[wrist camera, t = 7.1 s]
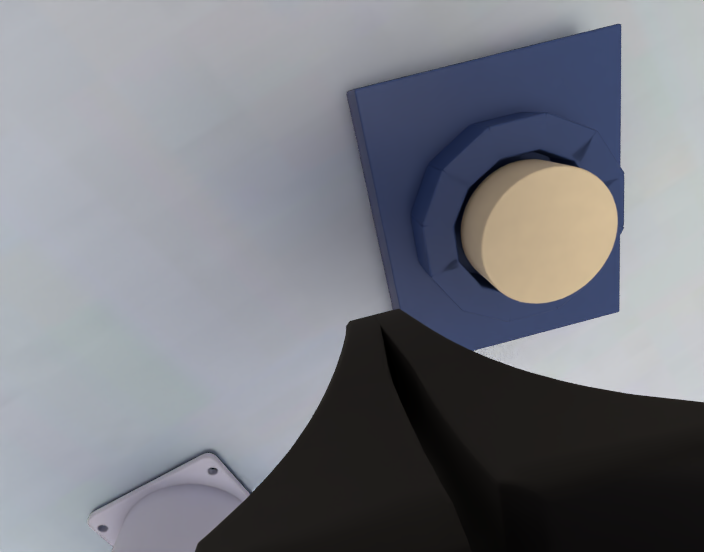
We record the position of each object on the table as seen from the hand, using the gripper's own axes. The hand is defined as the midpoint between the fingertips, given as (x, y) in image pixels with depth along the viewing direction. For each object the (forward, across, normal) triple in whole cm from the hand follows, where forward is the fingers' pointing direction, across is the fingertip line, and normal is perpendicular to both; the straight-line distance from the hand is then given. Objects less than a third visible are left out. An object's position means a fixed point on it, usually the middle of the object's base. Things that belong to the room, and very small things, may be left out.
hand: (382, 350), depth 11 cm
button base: (+10, -7, 0) cm, 12 cm away
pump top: (+6, -7, 0) cm, 9 cm away
